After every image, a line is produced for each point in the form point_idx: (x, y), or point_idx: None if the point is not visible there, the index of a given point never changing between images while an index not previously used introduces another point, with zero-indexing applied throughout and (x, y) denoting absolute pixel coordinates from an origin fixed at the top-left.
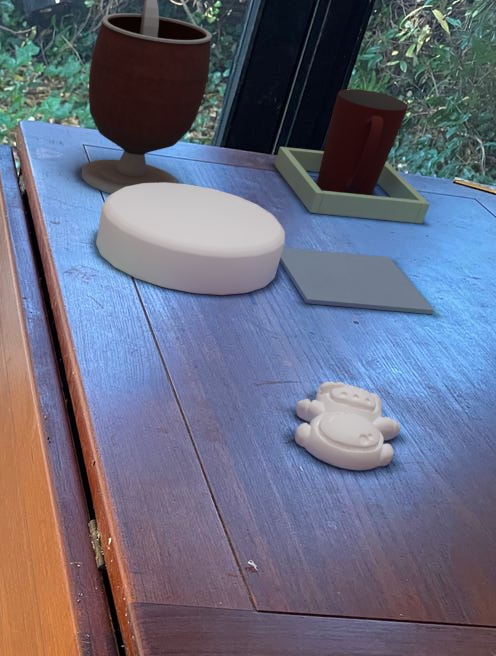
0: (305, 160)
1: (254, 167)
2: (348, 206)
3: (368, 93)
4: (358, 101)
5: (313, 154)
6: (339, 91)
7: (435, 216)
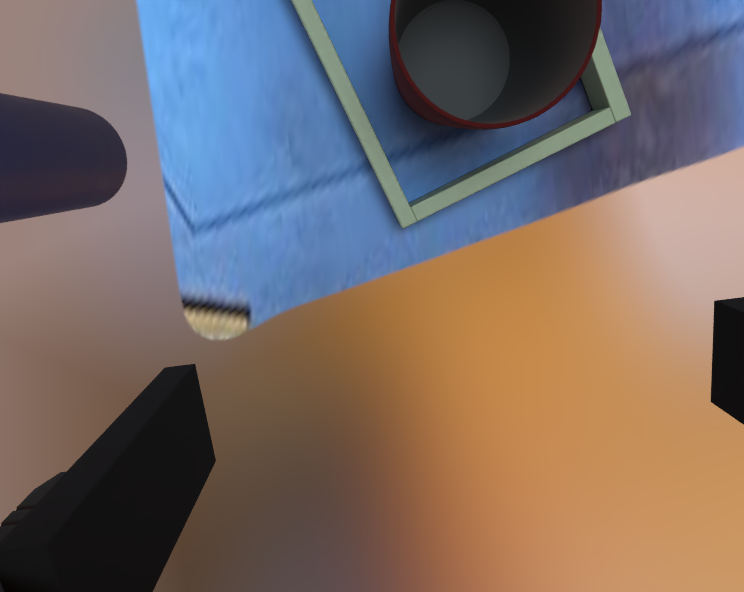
0: (559, 129)
1: (652, 69)
2: None
3: (513, 120)
4: (527, 111)
5: (550, 135)
6: (599, 25)
7: (248, 32)
